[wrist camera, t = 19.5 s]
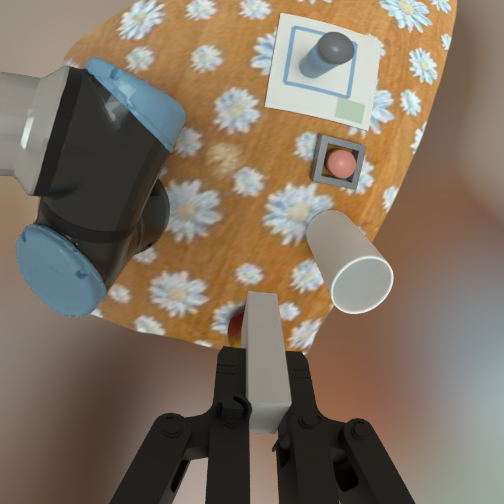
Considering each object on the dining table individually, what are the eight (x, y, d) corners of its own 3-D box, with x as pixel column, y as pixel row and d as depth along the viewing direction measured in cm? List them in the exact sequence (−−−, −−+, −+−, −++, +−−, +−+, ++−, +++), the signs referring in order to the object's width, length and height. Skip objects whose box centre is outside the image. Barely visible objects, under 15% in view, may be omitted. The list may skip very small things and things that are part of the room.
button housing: (309, 177, 40) (313, 181, 38) (318, 133, 37) (322, 134, 35) (350, 186, 41) (356, 190, 39) (360, 144, 38) (366, 146, 35)
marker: (297, 76, 32) (318, 58, 21) (299, 53, 31) (320, 28, 19) (322, 81, 32) (353, 67, 21) (324, 58, 31) (355, 36, 20)
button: (322, 171, 39) (327, 175, 36) (327, 146, 37) (332, 147, 35) (346, 177, 39) (352, 180, 37) (352, 152, 37) (358, 154, 35)
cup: (329, 199, 42) (367, 243, 28) (361, 229, 44) (404, 280, 30) (295, 236, 45) (316, 294, 30) (329, 263, 47) (358, 323, 33)
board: (264, 107, 35) (264, 106, 34) (280, 14, 28) (280, 12, 27) (366, 130, 36) (368, 130, 36) (379, 42, 29) (381, 41, 28)
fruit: (262, 293, 50) (264, 322, 43) (284, 323, 53) (289, 353, 46) (219, 313, 52) (215, 342, 45) (244, 341, 56) (243, 370, 48)
